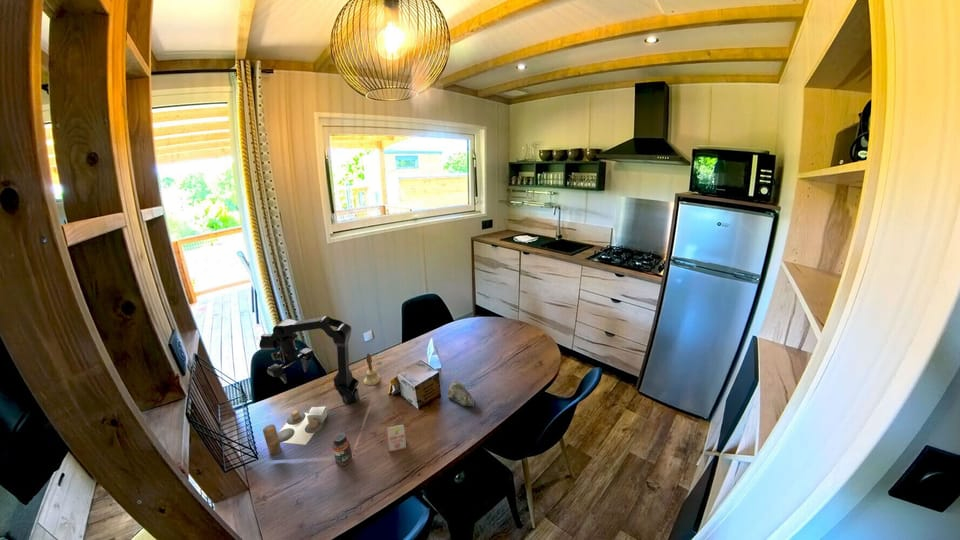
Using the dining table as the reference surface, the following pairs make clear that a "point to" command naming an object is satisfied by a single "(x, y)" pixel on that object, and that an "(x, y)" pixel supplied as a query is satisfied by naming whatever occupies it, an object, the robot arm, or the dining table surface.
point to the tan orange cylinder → (272, 439)
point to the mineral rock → (460, 394)
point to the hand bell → (371, 373)
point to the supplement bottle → (341, 449)
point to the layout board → (299, 428)
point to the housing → (317, 414)
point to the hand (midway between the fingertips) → (295, 377)
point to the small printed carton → (396, 438)
